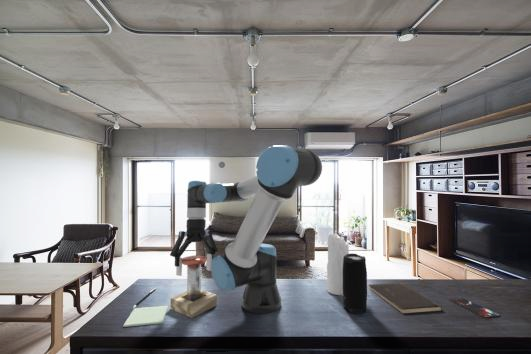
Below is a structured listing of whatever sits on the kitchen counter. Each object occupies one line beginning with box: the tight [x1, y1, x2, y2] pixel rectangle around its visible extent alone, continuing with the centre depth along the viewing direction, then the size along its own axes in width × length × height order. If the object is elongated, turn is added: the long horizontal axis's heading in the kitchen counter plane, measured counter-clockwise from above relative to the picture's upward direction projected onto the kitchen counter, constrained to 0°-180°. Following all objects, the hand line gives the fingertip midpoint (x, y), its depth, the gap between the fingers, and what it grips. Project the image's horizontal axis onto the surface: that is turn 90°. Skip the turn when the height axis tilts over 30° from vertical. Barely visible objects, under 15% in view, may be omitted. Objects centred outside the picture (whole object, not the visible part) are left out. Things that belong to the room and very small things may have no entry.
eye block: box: [170, 289, 218, 319], centre depth 101 cm, size 12×12×4 cm
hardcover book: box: [368, 282, 443, 314], centre depth 108 cm, size 16×23×2 cm
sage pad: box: [123, 305, 169, 328], centre depth 94 cm, size 12×12×1 cm
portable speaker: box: [342, 253, 368, 315], centre depth 99 cm, size 9×9×20 cm
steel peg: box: [182, 254, 207, 302], centre depth 101 cm, size 9×9×18 cm
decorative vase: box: [325, 232, 350, 296], centre depth 117 cm, size 11×11×25 cm
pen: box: [132, 287, 157, 309], centre depth 110 cm, size 1×19×1 cm, turn 177°
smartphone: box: [448, 297, 501, 319], centre depth 100 cm, size 7×1×15 cm
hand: (194, 272), depth 106 cm, fingers open, 13 cm apart
